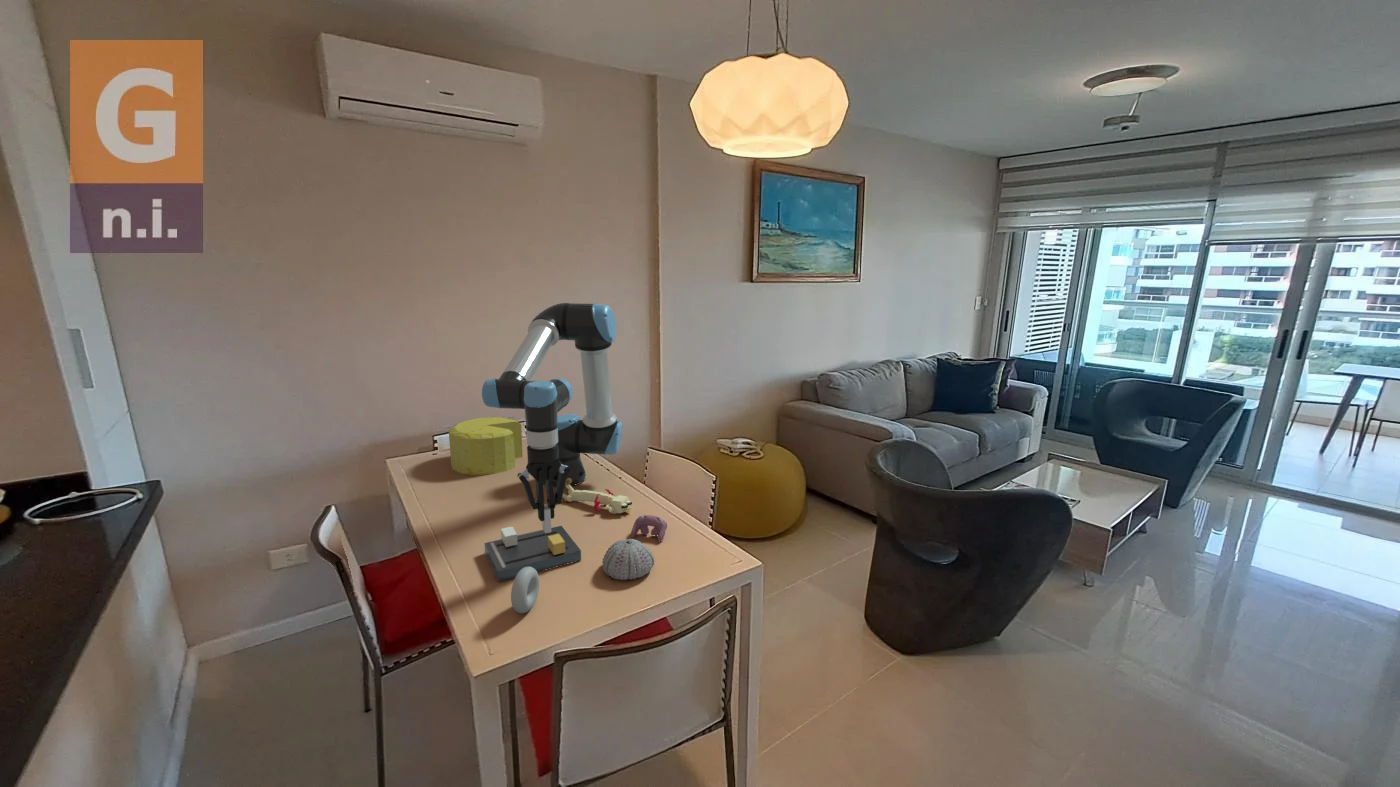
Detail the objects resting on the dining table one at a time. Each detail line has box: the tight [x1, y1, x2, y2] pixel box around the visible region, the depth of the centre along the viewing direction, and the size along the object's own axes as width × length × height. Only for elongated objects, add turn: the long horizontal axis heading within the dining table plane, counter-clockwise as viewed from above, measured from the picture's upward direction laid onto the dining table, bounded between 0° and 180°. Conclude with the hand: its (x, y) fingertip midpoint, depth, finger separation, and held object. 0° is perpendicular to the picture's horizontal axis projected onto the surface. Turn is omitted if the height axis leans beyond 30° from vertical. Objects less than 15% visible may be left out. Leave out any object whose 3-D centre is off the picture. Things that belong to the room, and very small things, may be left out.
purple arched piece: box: [630, 514, 668, 542], centre depth 162 cm, size 10×5×7 cm, turn 73°
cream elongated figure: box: [561, 478, 634, 515], centre depth 180 cm, size 10×9×25 cm
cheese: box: [448, 416, 524, 476], centre depth 214 cm, size 26×26×15 cm
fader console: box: [484, 525, 582, 583], centre depth 149 cm, size 21×16×3 cm
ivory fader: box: [500, 526, 518, 547], centre depth 150 cm, size 3×5×3 cm, turn 32°
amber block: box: [548, 534, 565, 555], centre depth 146 cm, size 3×5×3 cm, turn 32°
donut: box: [510, 567, 540, 614], centre depth 126 cm, size 10×4×10 cm, turn 173°
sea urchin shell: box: [601, 538, 656, 581], centre depth 143 cm, size 13×14×8 cm
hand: (547, 530), depth 145 cm, fingers closed
